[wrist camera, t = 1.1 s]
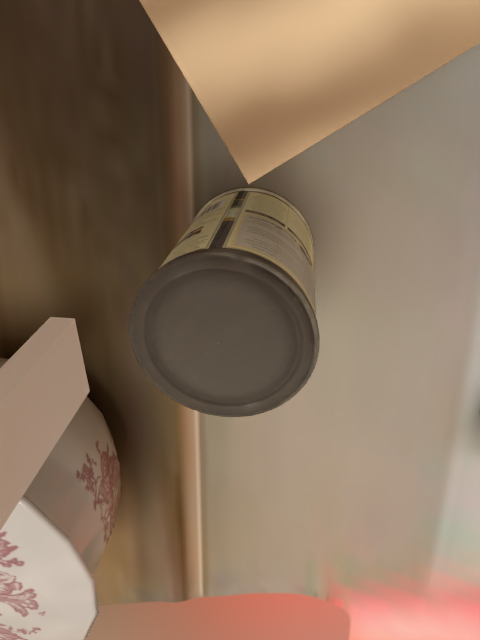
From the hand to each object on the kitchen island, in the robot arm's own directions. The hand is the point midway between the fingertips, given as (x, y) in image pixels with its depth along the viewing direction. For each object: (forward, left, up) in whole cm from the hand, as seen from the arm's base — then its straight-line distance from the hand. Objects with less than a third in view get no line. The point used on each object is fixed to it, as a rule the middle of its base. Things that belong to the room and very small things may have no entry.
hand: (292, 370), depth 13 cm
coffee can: (+2, -6, -24) cm, 24 cm away
